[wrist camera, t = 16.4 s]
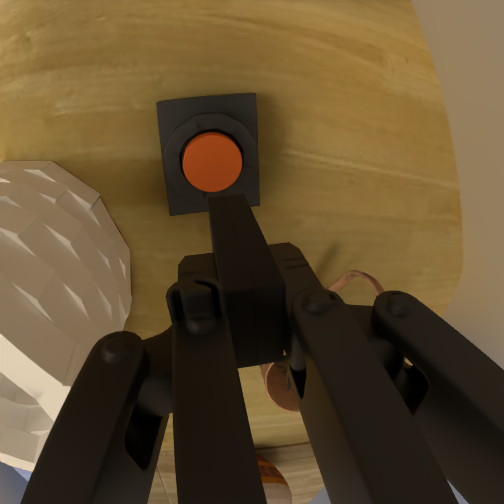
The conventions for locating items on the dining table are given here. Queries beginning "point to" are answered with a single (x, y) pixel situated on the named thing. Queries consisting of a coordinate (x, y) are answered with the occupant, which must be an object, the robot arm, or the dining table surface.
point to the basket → (51, 296)
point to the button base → (202, 121)
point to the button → (212, 162)
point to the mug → (278, 371)
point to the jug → (273, 483)
